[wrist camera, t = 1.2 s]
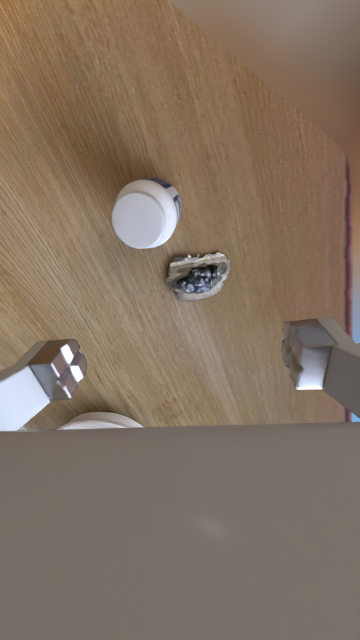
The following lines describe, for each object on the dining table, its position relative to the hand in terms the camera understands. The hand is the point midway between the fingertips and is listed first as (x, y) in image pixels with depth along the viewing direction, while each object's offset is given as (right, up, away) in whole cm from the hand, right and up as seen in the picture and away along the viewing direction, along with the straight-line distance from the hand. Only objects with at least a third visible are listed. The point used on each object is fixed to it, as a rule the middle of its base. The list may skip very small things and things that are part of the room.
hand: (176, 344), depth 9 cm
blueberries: (+3, +7, +20) cm, 22 cm away
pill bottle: (-2, +13, +17) cm, 22 cm away
